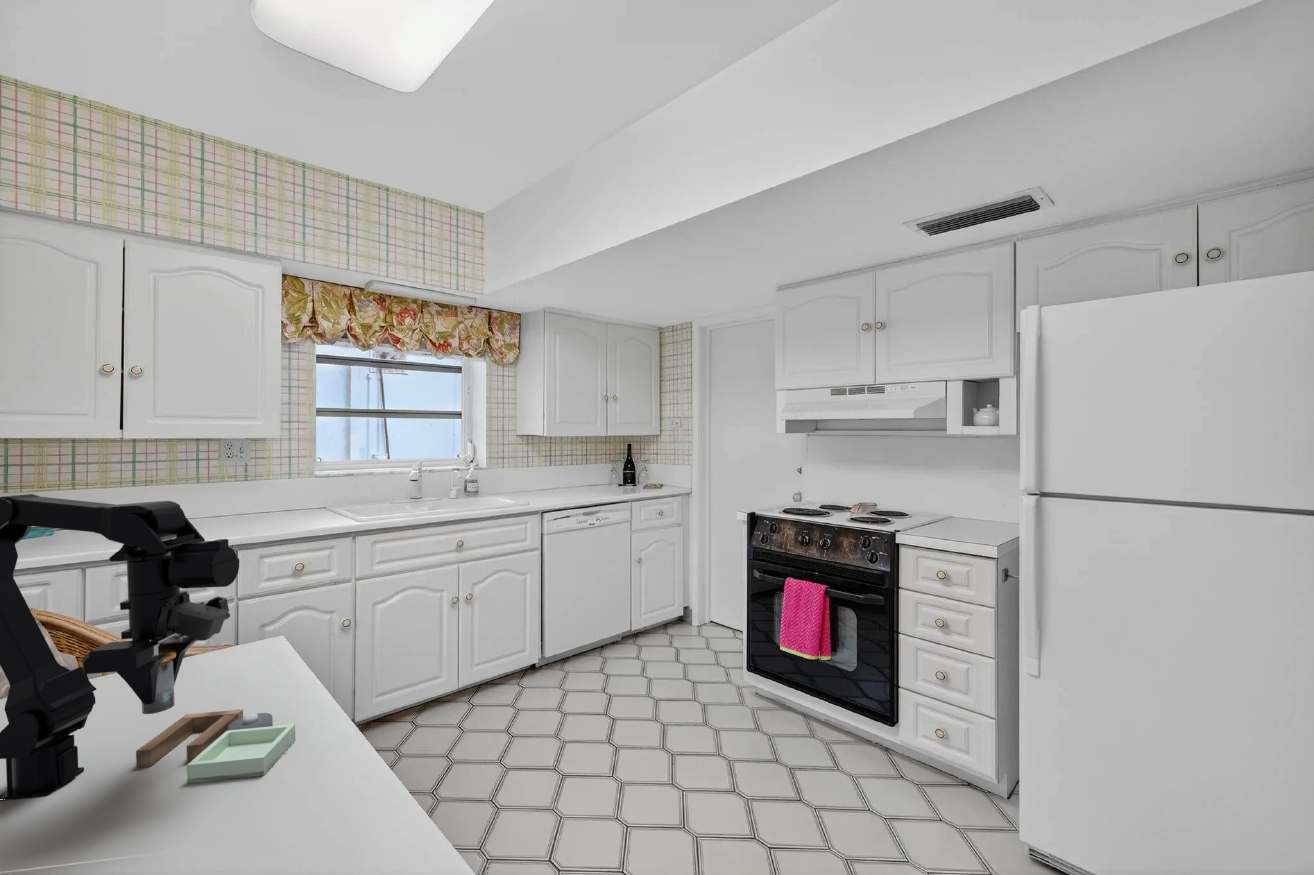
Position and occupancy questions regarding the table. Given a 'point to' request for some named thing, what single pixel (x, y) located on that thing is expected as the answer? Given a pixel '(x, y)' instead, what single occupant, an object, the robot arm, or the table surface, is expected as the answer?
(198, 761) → the tray
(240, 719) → the pulley
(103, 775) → the table surface
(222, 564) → the robot arm
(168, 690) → the pin
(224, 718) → the brown u-shaped piece
